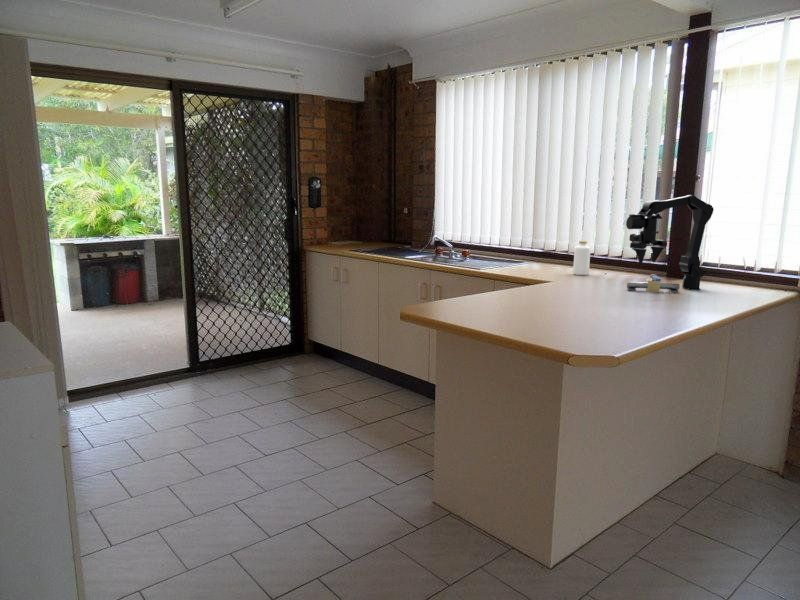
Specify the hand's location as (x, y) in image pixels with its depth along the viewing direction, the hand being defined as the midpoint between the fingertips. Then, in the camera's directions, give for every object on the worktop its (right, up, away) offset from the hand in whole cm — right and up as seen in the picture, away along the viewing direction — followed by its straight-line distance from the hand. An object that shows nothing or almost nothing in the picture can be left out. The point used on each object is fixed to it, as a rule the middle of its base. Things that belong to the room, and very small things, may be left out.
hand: (647, 262), depth 262 cm
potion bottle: (-16, -3, +47) cm, 50 cm away
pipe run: (+1, -13, -2) cm, 13 cm away
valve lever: (0, -8, -7) cm, 11 cm away
